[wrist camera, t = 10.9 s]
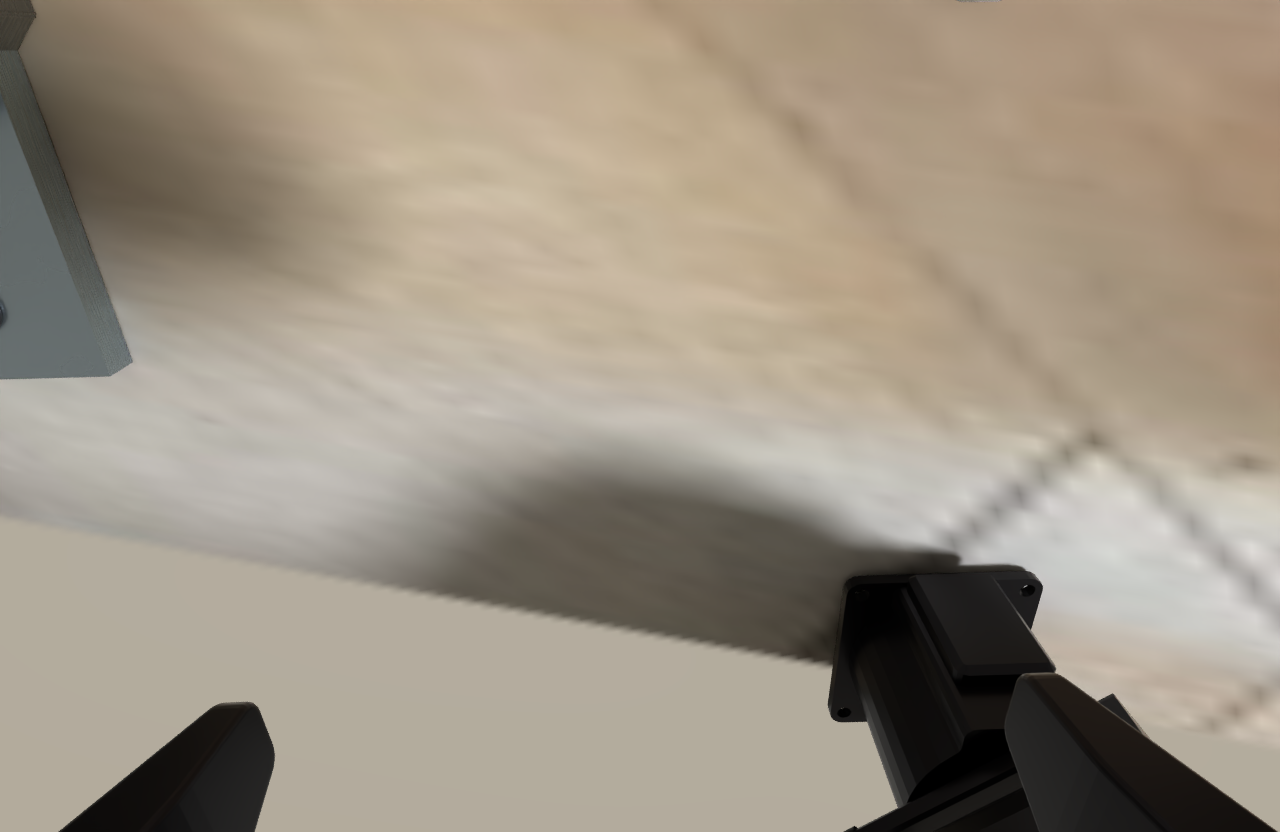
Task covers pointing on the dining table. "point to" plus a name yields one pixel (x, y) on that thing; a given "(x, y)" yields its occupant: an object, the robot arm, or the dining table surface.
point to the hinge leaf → (44, 242)
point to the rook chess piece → (978, 0)
